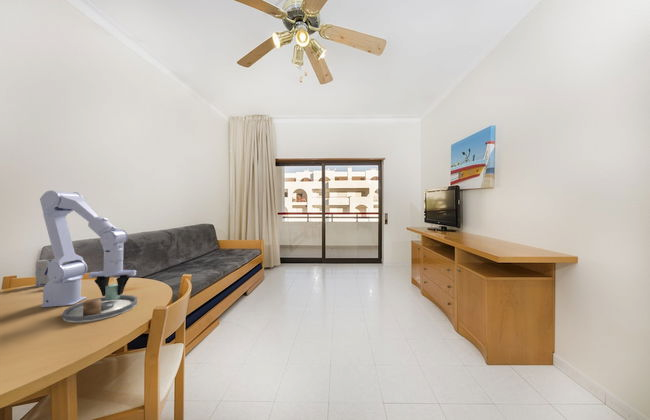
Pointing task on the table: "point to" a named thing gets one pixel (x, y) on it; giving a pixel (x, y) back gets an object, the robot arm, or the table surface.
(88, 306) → the walnut bead
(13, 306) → the table surface
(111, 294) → the mint green cylinder
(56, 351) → the table surface
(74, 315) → the groove tray
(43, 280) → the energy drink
